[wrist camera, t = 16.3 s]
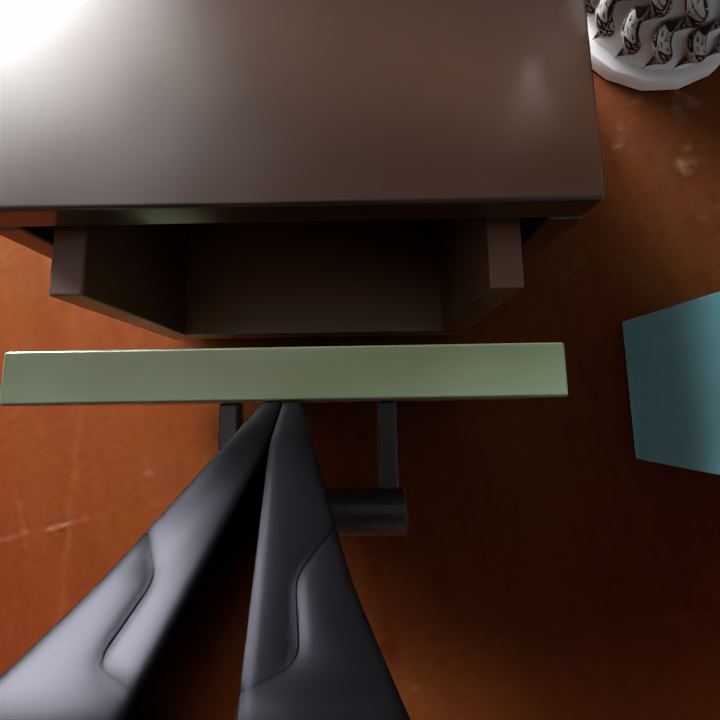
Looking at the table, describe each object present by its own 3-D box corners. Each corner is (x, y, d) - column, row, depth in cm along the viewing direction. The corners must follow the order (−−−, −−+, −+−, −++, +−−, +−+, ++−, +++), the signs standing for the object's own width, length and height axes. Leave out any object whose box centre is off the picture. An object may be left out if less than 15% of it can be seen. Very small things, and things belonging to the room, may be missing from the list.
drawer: (484, 510, 14) (587, 600, 7) (152, 515, 14) (-24, 609, 7) (462, 105, 16) (528, -94, 9) (172, 111, 16) (46, -83, 9)
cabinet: (480, 304, 16) (607, 198, 7) (160, 310, 16) (-56, 210, 8) (464, 21, 17) (554, -317, 9) (174, 27, 17) (10, -302, 9)
